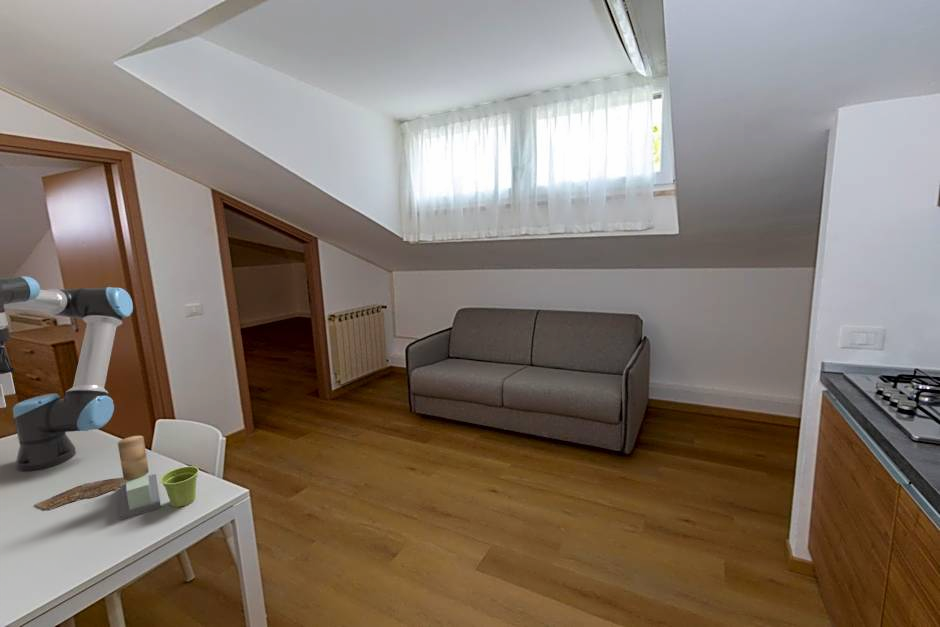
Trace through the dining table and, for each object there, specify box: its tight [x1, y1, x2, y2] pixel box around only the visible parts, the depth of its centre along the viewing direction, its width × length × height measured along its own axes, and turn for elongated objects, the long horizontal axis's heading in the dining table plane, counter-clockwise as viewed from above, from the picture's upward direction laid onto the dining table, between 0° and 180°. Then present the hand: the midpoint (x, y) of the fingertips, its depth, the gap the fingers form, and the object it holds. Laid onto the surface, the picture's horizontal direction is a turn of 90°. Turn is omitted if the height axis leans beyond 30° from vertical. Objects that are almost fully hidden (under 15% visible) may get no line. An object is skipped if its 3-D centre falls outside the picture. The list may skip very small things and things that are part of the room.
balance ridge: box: [119, 472, 162, 521], centre depth 129 cm, size 20×9×8 cm, turn 39°
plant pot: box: [160, 465, 200, 508], centre depth 126 cm, size 9×9×9 cm
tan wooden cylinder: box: [117, 435, 149, 480], centre depth 127 cm, size 6×6×11 cm
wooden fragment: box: [33, 476, 126, 511], centre depth 133 cm, size 26×11×1 cm, turn 128°
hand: (3, 401), depth 122 cm, fingers open, 13 cm apart
